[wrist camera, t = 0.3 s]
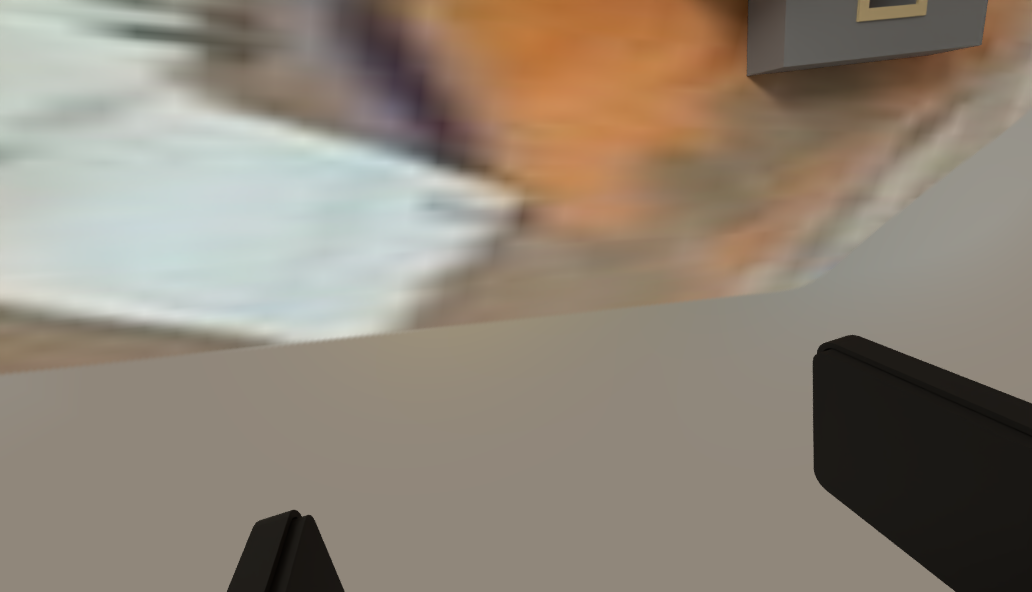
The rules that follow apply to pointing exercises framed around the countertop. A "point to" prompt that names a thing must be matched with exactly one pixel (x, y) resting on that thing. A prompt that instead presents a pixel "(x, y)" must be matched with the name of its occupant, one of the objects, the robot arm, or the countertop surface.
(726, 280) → the countertop surface
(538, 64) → the countertop surface
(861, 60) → the seat block
